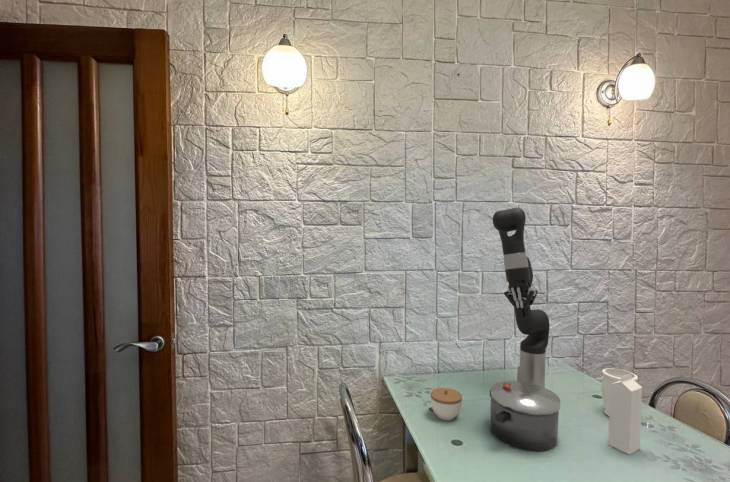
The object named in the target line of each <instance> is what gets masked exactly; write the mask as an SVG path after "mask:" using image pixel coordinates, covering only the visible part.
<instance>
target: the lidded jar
mask: <svg viewBox="0 0 730 482" xmlns="http://www.w3.org/2000/svg"><path fill="white" fill-rule="evenodd" d="M462 401H463V395H462V394H461V392H460V391H458V390H456V389H453V388H449V387H437V388H434V389H432V390H431V391H430V403H431V404H430V405H431V409H432V410H433V413H434V414H435V415H436V417H438V419H440V420H443V421H452V420H454V419H455V418H456V417H457V416H458V415H459V413H460V411H461V409H462V403H463V402H462Z"/></svg>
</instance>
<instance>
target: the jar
mask: <svg viewBox="0 0 730 482" xmlns="http://www.w3.org/2000/svg"><path fill="white" fill-rule="evenodd" d="M601 373H602V375H603V377H602V381H601V393H602V394H601V395H602V402H603V405H604V407H605V408H604V410H603V412H604V414H605V415H607V416H608V417H609V409H610V384H612V383H615V382H618V381H620V380H621V377H623V376H626V375H628V374H632V379H633V380H634V381H635V382H637V381H638V379H639V378H638V375H636V374H635V373H633V372H631V371H629V370H628V371H627V370H625V369H621V368H613V367H611V368H610V367H608V368H607V367H606V368H604V369H602V371H601Z"/></svg>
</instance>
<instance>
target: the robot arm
mask: <svg viewBox="0 0 730 482" xmlns="http://www.w3.org/2000/svg"><path fill="white" fill-rule="evenodd" d="M526 219H527V216H526V212H525V211H524V210H523V209H522V208H520V207H513V208H508V209H503V210H497V211H495V212H494V213H493V216H492V224H493V227H494V228H495V229H496V230H497V231H498V233H499V237H500V242H501V247H502V254H503V265H504V271H505V272H504V273H505V279H506V282H507V283H508V287H507V288H508V289H507V291H504V292H503V294H504V296H505V297H506V299H507V300H508V302H510V304H511V305H512V306H513V308H514V315H515V323H516V326H517V329H518V331H520V333H521V334H523V335H525V336H527V337H525V338H524V339H523V340H521V341H520V345H519V366H518V367H517V375H516V376H517V379H516V380H517V382H525V383H531V384H535V385H538V386H541V387H544V388H546V386H545V385H546V384H545V383H546V382H545V381H546V351H547V347H548V346H549V345H548V344H549V337H550V319H549V316H548V314H547V313H546V312H545V311H544V310H542V309H531V306H532V305H533V303H534V302H535V299H536V298H537V296H538V293H539V290H538V289H534V288H532V284H533V280H534V279H533V278H534V271H533V268H532V263H531V260H530V258H529V256H528V255H527V254H526V247H525V241H524V240H525V237H524V233H525V225H526ZM514 231H515V232H514ZM509 232H514V234H512V235H508V233H509Z"/></svg>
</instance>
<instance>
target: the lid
mask: <svg viewBox="0 0 730 482" xmlns="http://www.w3.org/2000/svg"><path fill="white" fill-rule="evenodd" d="M490 389H491V397H490V399H491V398H492V399H493V400H494V402H496V403H497V404H498V405H500V406H502V407H504V408H506V409H508V410H511V411H514V412H518V413H522V414H528V415H549V414H553V413H556V412H557V411H558V410H559V411H560V408H561V399H560V397H559V395H557V394H556V393H555V392H553V390H552V391H551V390H550V389H548V388H547V387H545V388H544V387H541V386H538V385H535V384H531V383H525V382H517V381H516V380H515V381H514V380H513V381H511V380H510V381H509V380H508V381H501V382H497V383H495V384H492V386H491V388H490Z"/></svg>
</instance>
